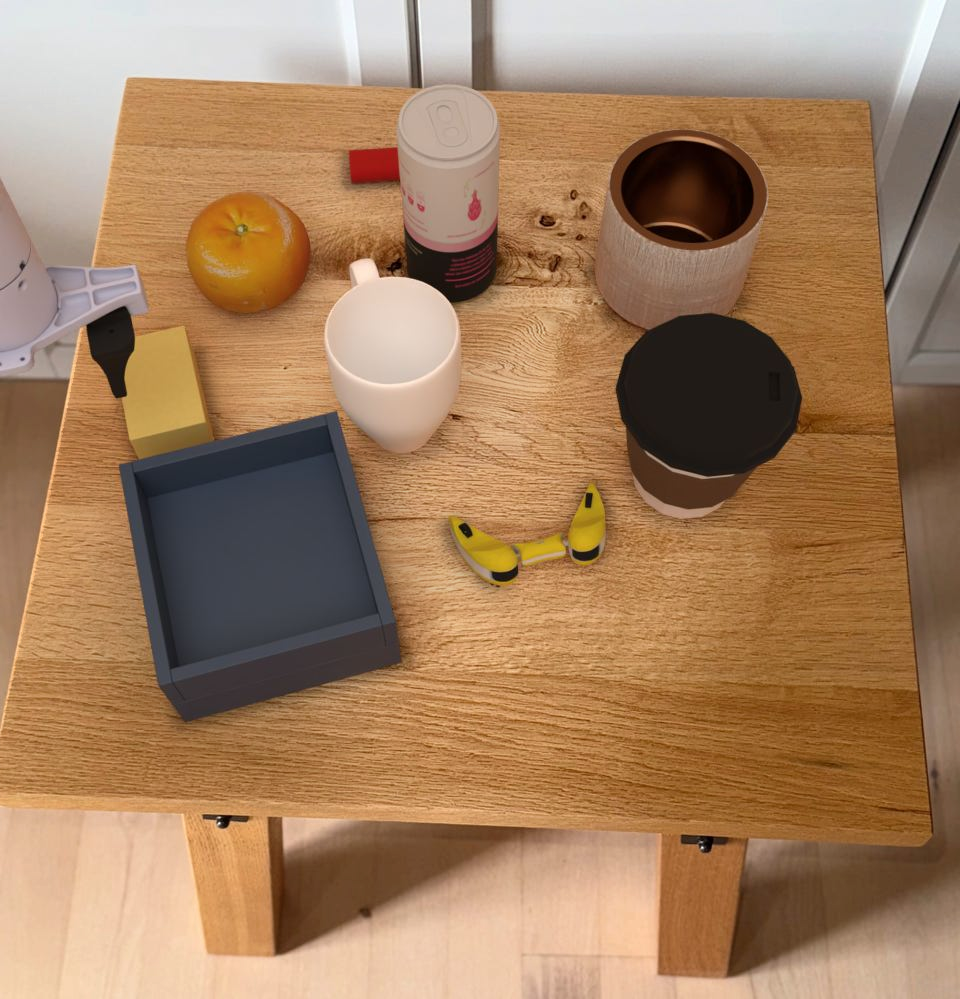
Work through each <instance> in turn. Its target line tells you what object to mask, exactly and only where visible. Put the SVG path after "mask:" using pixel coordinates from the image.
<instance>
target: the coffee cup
mask: <svg viewBox="0 0 960 999" xmlns="http://www.w3.org/2000/svg"><path fill="white" fill-rule="evenodd" d="M615 396H616V401H617V404H618V411H619V416H620V421H621V422H622V423H623V425H624V426H625V436H626V438H625V439H626V451H627V455H628V460H629V466H630V471H631V473H632V479H633V483H634V488H635V489H636V491H637V492H638V493H639V495H640V496H641V498H642V499H643V501H644V502H645V504H647V505H648V506H649V507H651V508H652V509H654V510H656V511H657V512H658V513H660V514H661V515H663V516H667V517H670V518H674V519H678V520H685V519H694V518H695V519H696V518H702V517H705V516H707V515H708V514H710V513H712V512H715V511H716V510H718V509H720V508H721V506H722V505H723V504H724V503H725V502H726V501H727V500H729V499H731V498H733V497H734V495H735V494H736V493H737V492H738V491H739V490H740V488H741V487H742V486H743V484H744V483H745V482H746V481H747V480H748V479H749V478H750V476H751V475H752V474H753V473H754V471H755V470H756V469H757V468H758V467H760V466H762V465H764V464H766V463H768V462H769V461H771V460H774V459H775V458H776V457H777V456H778V454H779V453H780V452H781V450H782V449H783V448H784V447H785V445H786V444H787V443H788V442H789V440H790V439H791V438H792V437H793V435H794V434H795V432H796V430H797V427H798V422H799V418H800V412H801V407H802V402H803V395H802V391H801V388H800V384H799V380H798V376H797V373H796V370H795V367H794V365H793V364H792V361H791V360H790V358H789V357H788V356H787V355H786V353H785V352H784V351H783V350H782V349H781V347H780V346H779V344H778V343H777V342H776V341H775V340H774V338H773V337H772V336H771V335H768V333H766V332H764V331H762V330H760V329H759V328H758V327H756V326H754V325H752V324H751V323H749V322H748V321H746V320H744V319H741V318H736V317H732V316H727V315H725V316H723V315H719V314H715V313H704V314H692V315H681V316H678V317H675V318H673V319H671V320H669V321H667V322H665V323H663V324H661V325H658V326H656V327H654V328H652V329H651V330H647V331H645V332H644V333H643V334H642V335H641V336H640V337H639V338H638V340H637V341H636V342H635V343H634V344H633V345H632V346H631V347H630V348H629V350H627V352H626V353H625V354H624V357H623V360H622V364H621V366H620V371H619V374H618V378H617V381H616V385H615Z"/></svg>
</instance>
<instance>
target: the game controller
mask: <svg viewBox="0 0 960 999" xmlns="http://www.w3.org/2000/svg"><path fill="white" fill-rule="evenodd" d="M575 512H576V513H575V514H574V516H573V519H572V520H571V523H570V525H569V529H568V533H567V539H566V541H564V538H565V537H564V532H563V531H559V532H558V533H556V534H553V535H550V536H548V537H545V538H541V539H537V540H534V541H528V542H518V543H517V542H516V543H513V544H511V545H509V544H507V543H506V542H504V541H501V540H499V539H496V538H494V537H493V536H491V535H489V534H486V533H484V532H483V531H481V530H480V529H477V528H476V527H474V526H472V525H470V524H469V523H467V522H465V521H463V520H461V519H460V518H458V517H457V516H454V515H450V516H448V524H449V532H450V534H451V537H452V540H453V542H454V544H455V546H456V548H457V551H458V552H459V554H460V556H461V557H462V558H463V560H464V561H465V563H466V564H467V565H468V567H469V568H470V569H471V570H472V571H473V572H474V573H475V574H476V575H477V576H478V577H480V578H481V579H482V580H484V581H486V582H487V583H489V584H490V586H495V587H496V588H498V589H499V588H500V587H505V586H509V585H512V584H514V583H515V581H516V580H517V579H518V577H519V575H520V574H519V572H520V571H519V561H520V565H522V567H530V566H533V565H537V564H540V563H544V562H545V563H546V562H549V561H553V560H558V559H561V558H564V557H565V556H566V555H567V549H568V554H569V557H570V559H571V560H572V561H573V563H575V564H577V565H579V566H589V565H591V564H593V563H595V562H596V561H597V560H598V559H599V558H600V557H601V555H602V554H603V551H604V550H605V546H606V541H607V525H606V513H605V512H606V511H605V507H604V504H603V500H602V498H601V495H600V492H599V490H598V489H597V487H596V485H595V482H594V481H589V482H588V484H587V489H586V491H585V493H584V495H583V498H582V500H581V502H580V504H579V506H578V508H577V510H576V511H575ZM566 547H567V548H566ZM518 559H519V560H518Z"/></svg>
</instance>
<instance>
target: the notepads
mask: <svg viewBox="0 0 960 999" xmlns="http://www.w3.org/2000/svg"><path fill="white" fill-rule="evenodd" d="M125 384H126V389H127V396H126V397H122V398H121V401H122V402H121V403H122V407H123V413H124V418H125V424H126V429H127V434H128V440H129V442H130V444H131V446H132V448H133V450H134V452H135V454H136V456H137V458H138V460H139V459H143V458H147V457H151V456H155V455H159V454H163V453H167V452H172V451H176V450H180V449H184V448H188V447H192V446H196V445H200V444H204V443H208V442H212V441H215V438H214V433H213V429H212V424H211V419H210V416H209V411H208V406H207V401H206V398H205V397H206V396H205V391H204V389H203V384H202V380H201V375H200V370H199V366H198V360H197V356H196V353H195V350H194V347H193V345H192V342H191V338H190V336H189V333H188V331H187V328H186V326H185V325H180V326H175V327H170V328H167V329H162V330H157V331H154V332H150V333H145V334H141V335H135V347H134V351H133V353H132V354H131V356H130V357H129V359H128V362H127V365H126V370H125Z"/></svg>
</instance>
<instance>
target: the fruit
mask: <svg viewBox="0 0 960 999" xmlns="http://www.w3.org/2000/svg"><path fill="white" fill-rule="evenodd" d="M311 247H312V246H311V239H310V236H309V234H308V230H307V228H306V226H305V224H304V223H303V221H302V219H301V218H300V217H299V216H298V215H297V214H296V212H294V211H293V210H292V209H291V208H290V207H288V206H287V205H286V204H284V203H283V202H282V201H281V200H279V199H277V198H276V197H273V196H271V195H269V194H266V193H263V192H258V191H250V190H243V191H236V192H233V193H229V194H226V195H224V196H221V197H219V198H218V199H216V200H214V201H213V202H211V203H210V204H208V205H207V206H206V207H204V208H203V209H201V211H199V213H198V214H197V215H196V216H195V218H194V219H193V220H192V223H191V225H190V228H189V231H188V233H187V237H186V245H185V257H186V258H185V259H186V264H187V269H188V272H189V273H190V276H191V278H192V281H193V282H194V285H195V286H196V287H197V289H198V291H199V292H200V293H201V294H202V295H203V297H205V298H206V299H207V300H208V301H210V302H211V303H213V304H214V305H216V306H218V307H220V308H223V309H225V310H228V311H232V312H233V313H243V314H245V313H247V314H249V313H255V312H262V311H267V310H271V309H274V308H275V307H278V306H280V305H282V303H284V302H285V301H287V300H289V299H290V298H291V297H293V296H294V295H295V294H296V293H297V292H298V291H299V290H300V289H301V287H302V286H303V284H304V282H305V280H306V277H307V273H308V270H309V266H310V260H311V252H312V249H311Z"/></svg>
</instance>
